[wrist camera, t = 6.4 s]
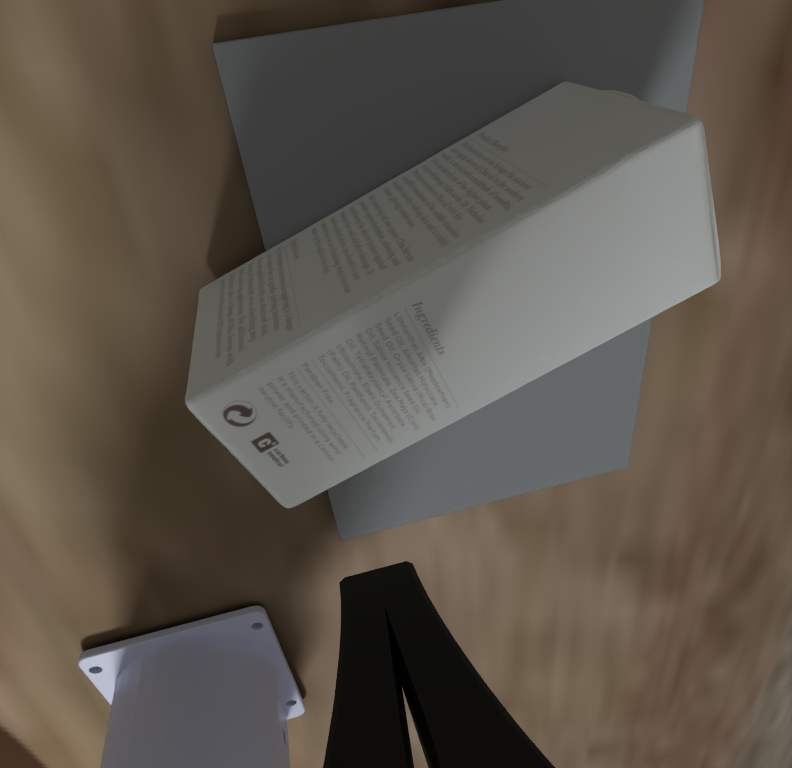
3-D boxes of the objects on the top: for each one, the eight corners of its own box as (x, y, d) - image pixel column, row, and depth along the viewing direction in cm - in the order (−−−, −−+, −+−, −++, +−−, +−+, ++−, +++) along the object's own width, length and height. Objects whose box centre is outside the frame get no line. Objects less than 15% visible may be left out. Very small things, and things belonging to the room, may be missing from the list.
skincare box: (286, 519, 14) (731, 286, 13) (174, 405, 12) (711, 107, 11) (276, 384, 19) (600, 206, 18) (195, 284, 17) (565, 70, 16)
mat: (621, 459, 26) (627, 466, 26) (338, 531, 24) (340, 540, 24) (696, -30, 16) (709, -30, 15) (212, 42, 14) (211, 44, 14)
